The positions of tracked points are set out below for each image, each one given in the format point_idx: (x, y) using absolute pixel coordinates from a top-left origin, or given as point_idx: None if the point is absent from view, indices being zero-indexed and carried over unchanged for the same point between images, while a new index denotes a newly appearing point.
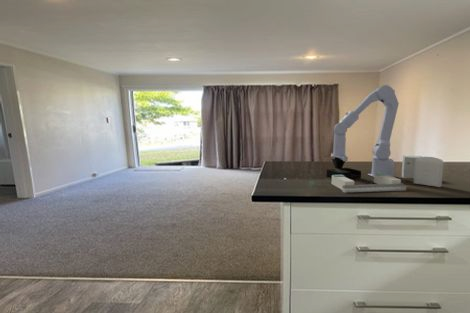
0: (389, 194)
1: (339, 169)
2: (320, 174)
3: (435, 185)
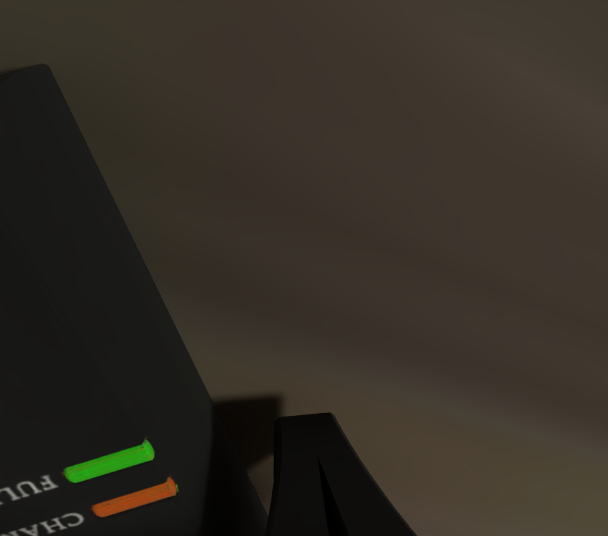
0: None
1: (13, 534)
2: (393, 6)
3: None
